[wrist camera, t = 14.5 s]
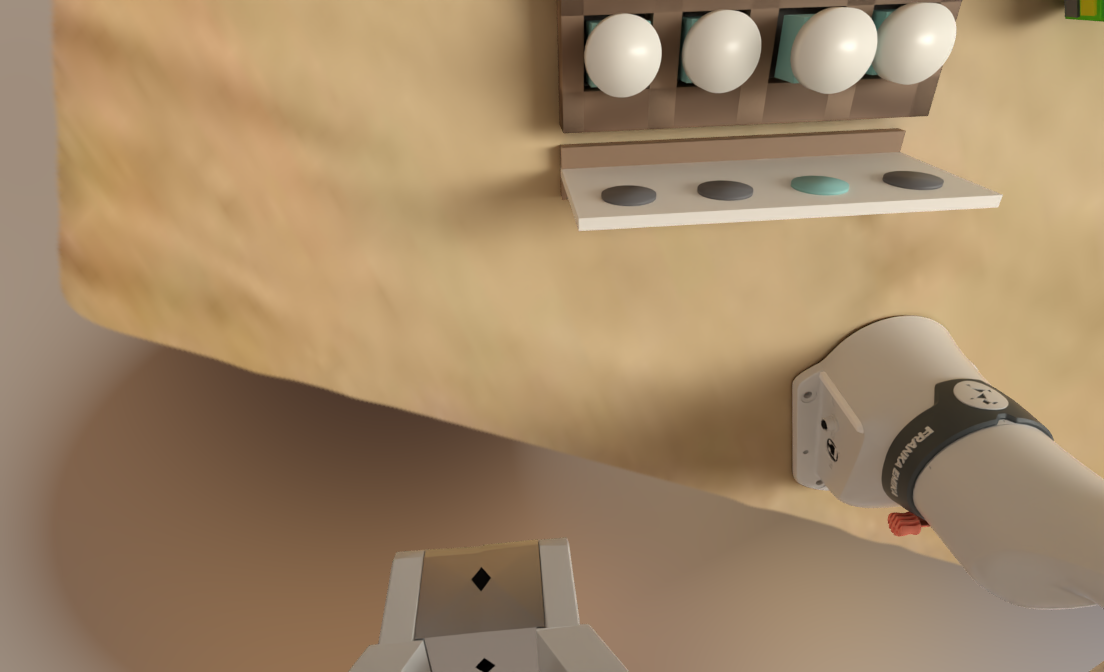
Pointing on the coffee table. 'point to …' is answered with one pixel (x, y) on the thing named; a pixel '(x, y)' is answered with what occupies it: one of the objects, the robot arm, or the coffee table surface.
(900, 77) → the button
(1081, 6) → the toy car
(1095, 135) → the coffee table surface
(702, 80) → the button
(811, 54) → the button
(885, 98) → the walnut button board
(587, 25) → the button
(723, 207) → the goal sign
